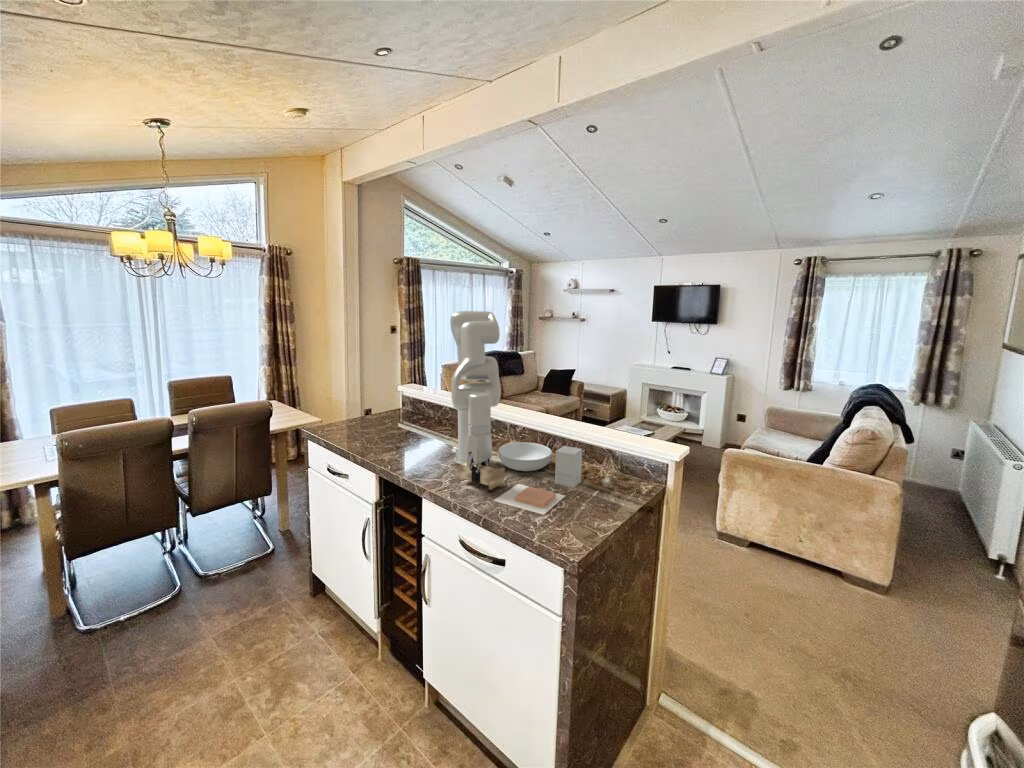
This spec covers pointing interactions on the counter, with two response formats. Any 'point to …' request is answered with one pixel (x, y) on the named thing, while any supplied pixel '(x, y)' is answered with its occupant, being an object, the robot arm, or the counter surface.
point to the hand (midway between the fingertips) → (479, 479)
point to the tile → (535, 497)
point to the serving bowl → (524, 456)
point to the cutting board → (510, 500)
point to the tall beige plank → (483, 474)
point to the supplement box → (568, 466)
